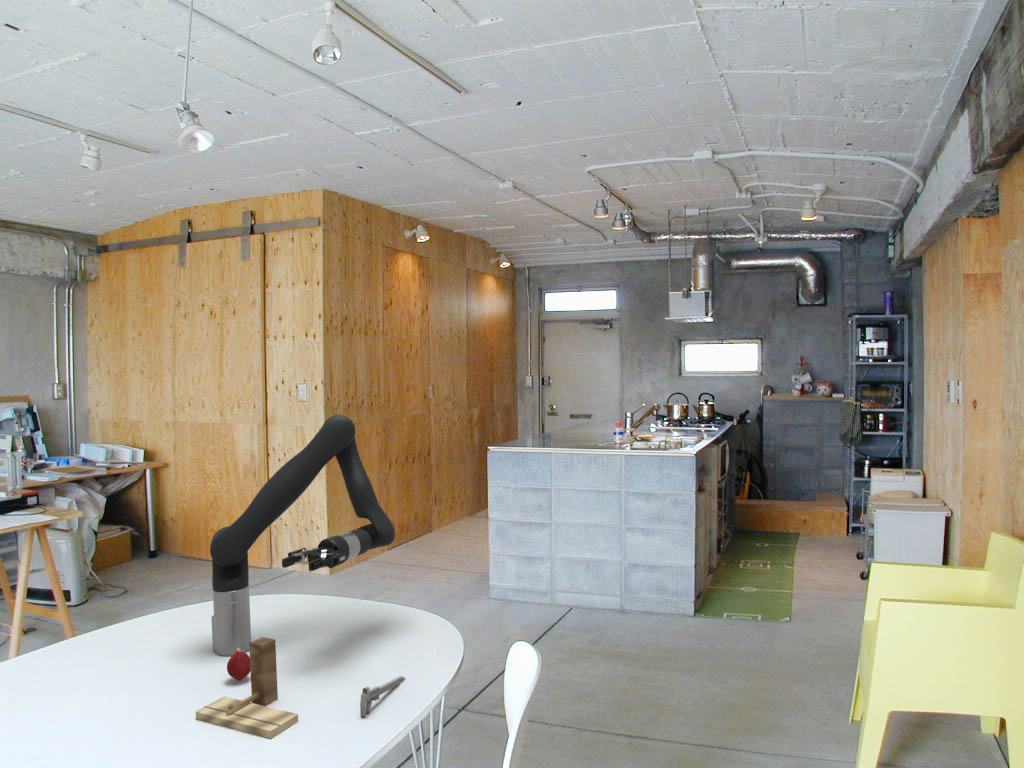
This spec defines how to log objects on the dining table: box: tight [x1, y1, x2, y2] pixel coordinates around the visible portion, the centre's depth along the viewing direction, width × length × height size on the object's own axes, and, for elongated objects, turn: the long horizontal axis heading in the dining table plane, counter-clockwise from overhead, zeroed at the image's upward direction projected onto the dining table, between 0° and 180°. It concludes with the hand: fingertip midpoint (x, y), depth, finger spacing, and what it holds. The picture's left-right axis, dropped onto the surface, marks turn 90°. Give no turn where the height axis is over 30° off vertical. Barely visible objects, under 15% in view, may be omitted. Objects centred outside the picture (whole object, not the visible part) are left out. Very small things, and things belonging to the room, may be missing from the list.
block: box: [226, 636, 279, 714], centre depth 169 cm, size 4×13×14 cm, turn 154°
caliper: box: [359, 675, 406, 718], centre depth 173 cm, size 20×1×6 cm, turn 163°
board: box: [195, 696, 299, 739], centre depth 164 cm, size 22×8×2 cm, turn 64°
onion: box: [226, 648, 251, 682], centre depth 184 cm, size 6×6×8 cm
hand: (296, 565), depth 184 cm, fingers open, 8 cm apart
